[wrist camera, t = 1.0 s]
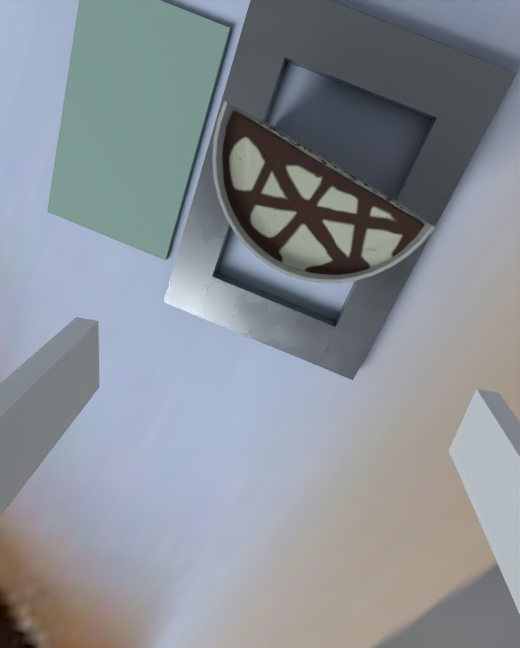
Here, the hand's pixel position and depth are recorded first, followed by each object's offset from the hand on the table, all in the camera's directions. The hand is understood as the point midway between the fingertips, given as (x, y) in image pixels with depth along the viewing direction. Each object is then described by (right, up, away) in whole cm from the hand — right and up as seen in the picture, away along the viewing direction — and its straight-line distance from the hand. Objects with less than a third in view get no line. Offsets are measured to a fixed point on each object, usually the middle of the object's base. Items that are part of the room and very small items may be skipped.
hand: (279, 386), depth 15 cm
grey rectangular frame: (+3, +11, +15) cm, 19 cm away
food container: (+3, +11, +16) cm, 19 cm away
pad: (-10, +16, +16) cm, 24 cm away
